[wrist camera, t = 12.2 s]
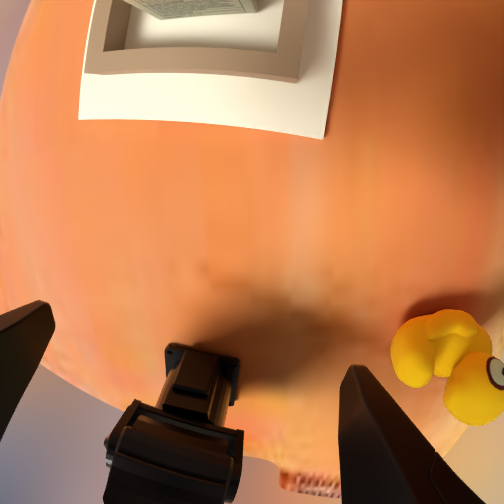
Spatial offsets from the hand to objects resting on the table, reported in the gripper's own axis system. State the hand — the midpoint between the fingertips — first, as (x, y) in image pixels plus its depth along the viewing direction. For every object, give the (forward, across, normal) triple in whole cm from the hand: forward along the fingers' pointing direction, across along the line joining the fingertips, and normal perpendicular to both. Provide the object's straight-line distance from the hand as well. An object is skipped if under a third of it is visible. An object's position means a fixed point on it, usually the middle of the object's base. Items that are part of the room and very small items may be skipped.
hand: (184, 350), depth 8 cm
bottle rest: (+13, +4, -14) cm, 19 cm away
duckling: (+13, -17, +7) cm, 23 cm away
